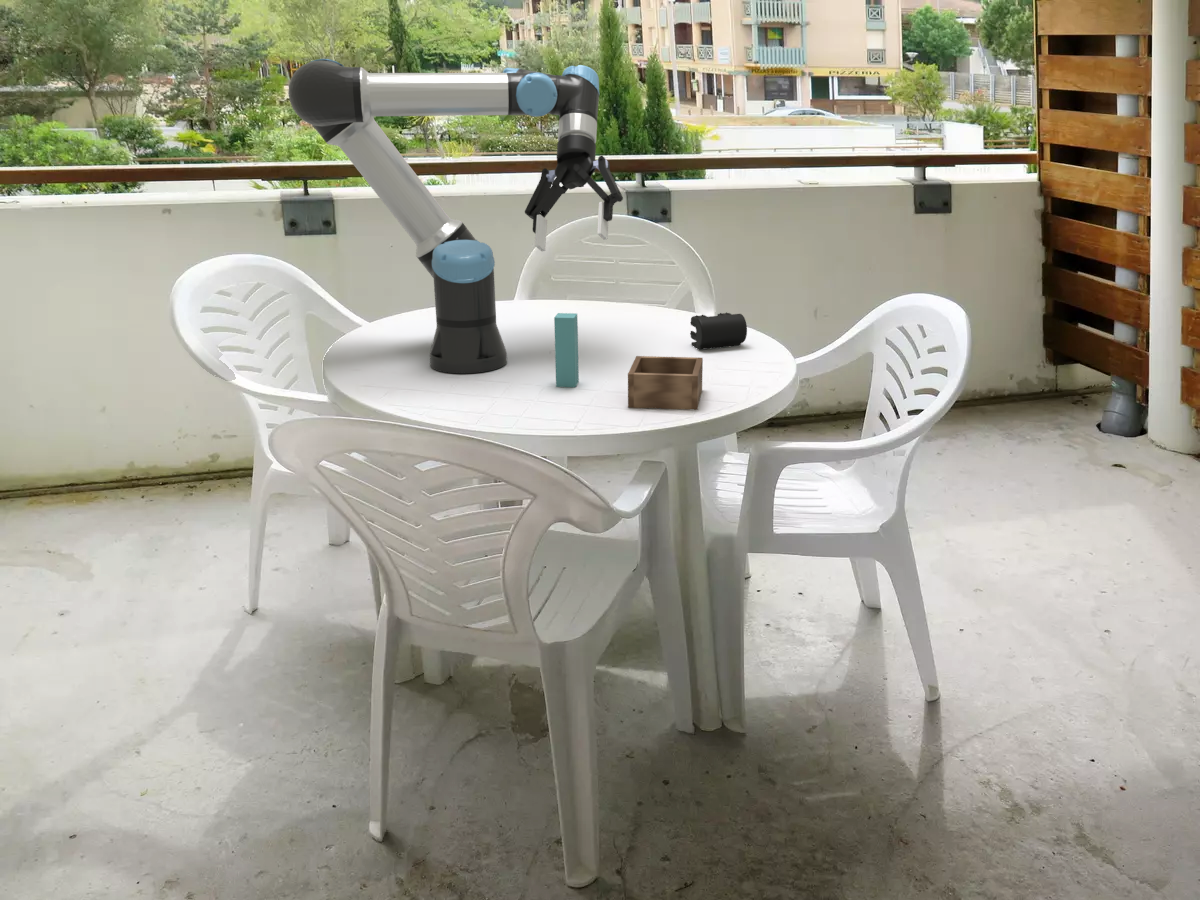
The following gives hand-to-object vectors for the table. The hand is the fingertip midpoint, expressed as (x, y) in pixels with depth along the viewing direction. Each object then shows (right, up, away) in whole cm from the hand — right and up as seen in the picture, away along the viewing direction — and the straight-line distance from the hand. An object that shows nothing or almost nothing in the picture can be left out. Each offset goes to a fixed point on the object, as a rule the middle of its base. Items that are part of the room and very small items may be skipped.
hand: (570, 242), depth 222 cm
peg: (0, -27, -5) cm, 28 cm away
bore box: (+17, -30, -15) cm, 38 cm away
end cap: (+30, -18, +19) cm, 40 cm away
